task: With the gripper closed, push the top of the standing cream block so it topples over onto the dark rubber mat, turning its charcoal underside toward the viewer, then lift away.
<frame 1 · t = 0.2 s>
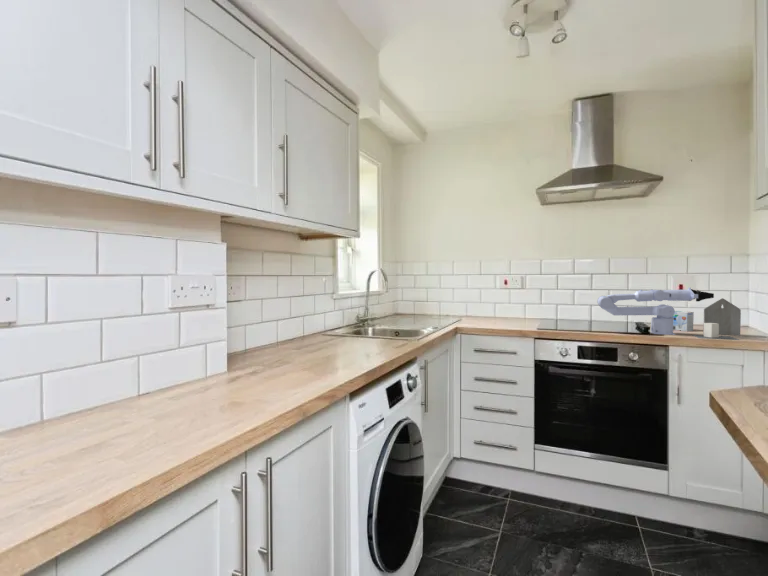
hand: (710, 295, 201), 21 cm above the counter, tool horizontal, fingers open, 7 cm apart
cream block: (711, 337, 194), resting on rubber mat
gray chamfered slab: (717, 334, 209), on the counter
rubber mat: (714, 338, 195), on the counter
light bulb box: (679, 330, 226), on the counter
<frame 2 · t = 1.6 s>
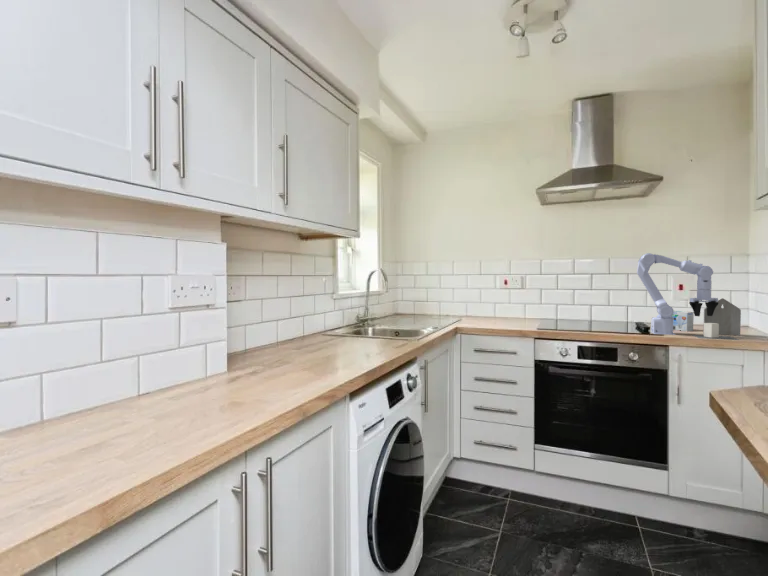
hand: (703, 316, 201), 10 cm above the counter, tool pointing down, fingers open, 7 cm apart
nothing on the counter moved.
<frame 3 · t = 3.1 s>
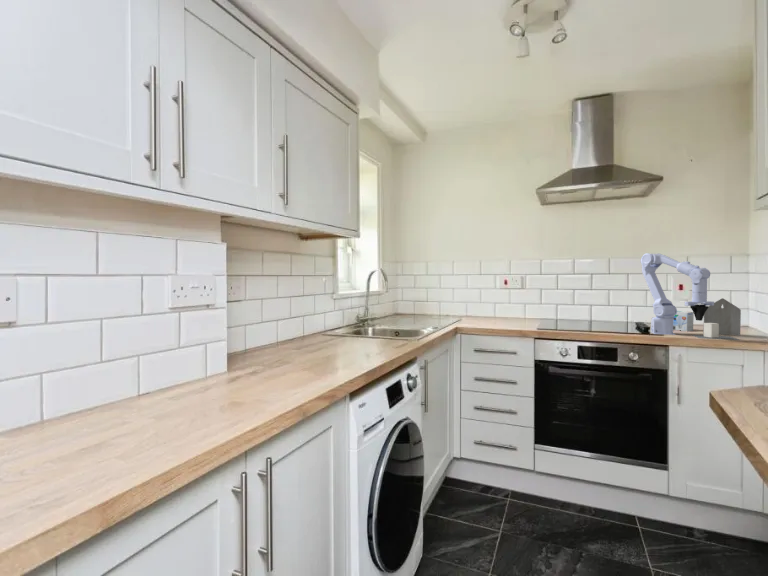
hand: (699, 320, 193), 9 cm above the counter, tool pointing down, fingers closed
nothing on the counter moved.
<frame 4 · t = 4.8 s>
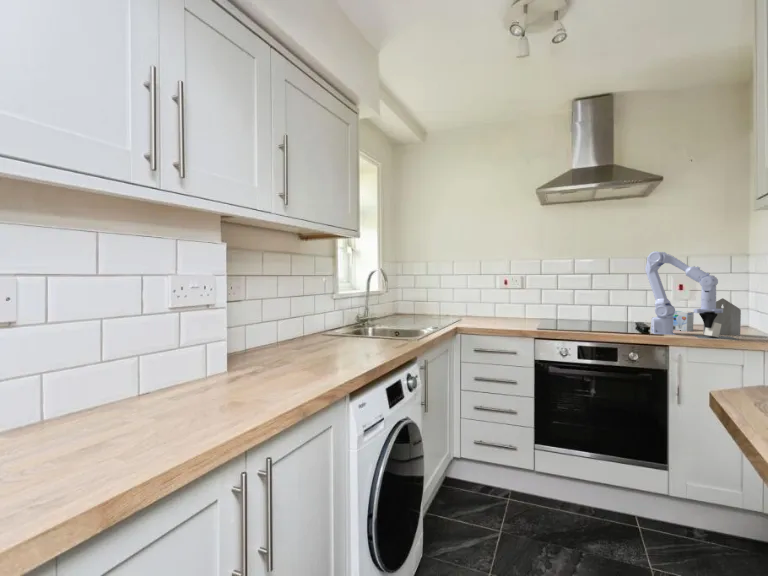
hand: (708, 327, 194), 5 cm above the counter, tool pointing down, fingers closed
cream block: (711, 336, 194), point 1 cm above the counter, tilted 13°, touching rubber mat
everything else where it was.
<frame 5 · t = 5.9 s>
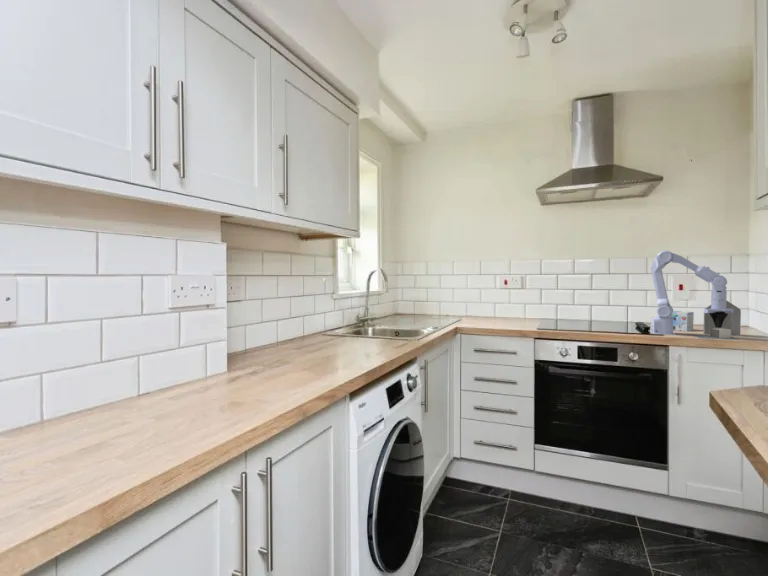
hand: (718, 327, 195), 5 cm above the counter, tool pointing down, fingers closed
cream block: (714, 333, 195), point 2 cm above the counter, tilted 90°, touching rubber mat
everything else where it was.
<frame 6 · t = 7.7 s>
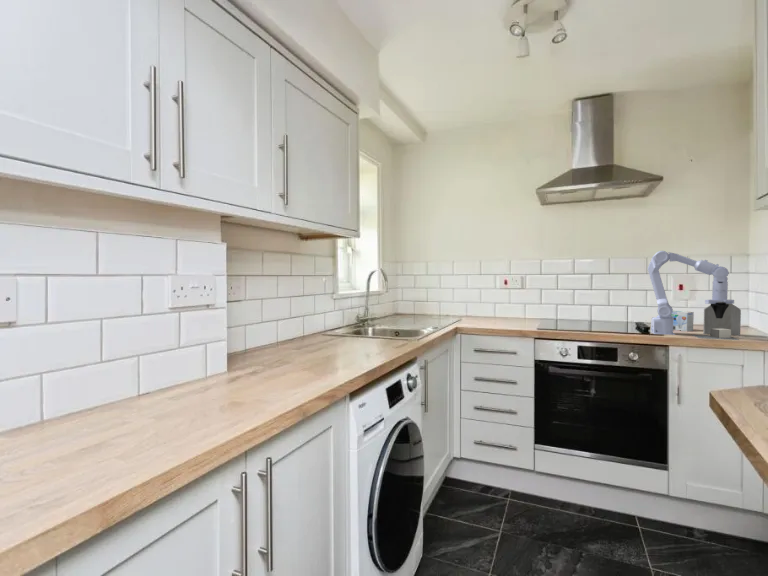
hand: (719, 318, 195), 10 cm above the counter, tool pointing down, fingers closed
nothing on the counter moved.
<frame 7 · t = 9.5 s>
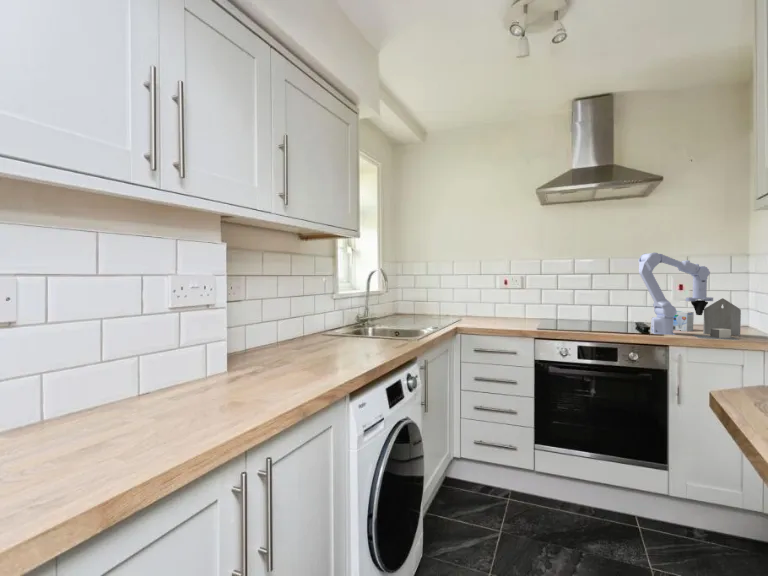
hand: (699, 315, 206), 10 cm above the counter, tool pointing down, fingers closed
nothing on the counter moved.
at the end: cream block tilted 90°; cream block inside the target area on the rubber mat (0.7 cm from its centre), point 2.5 cm above the rubber mat's base; cream block touching rubber mat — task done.
